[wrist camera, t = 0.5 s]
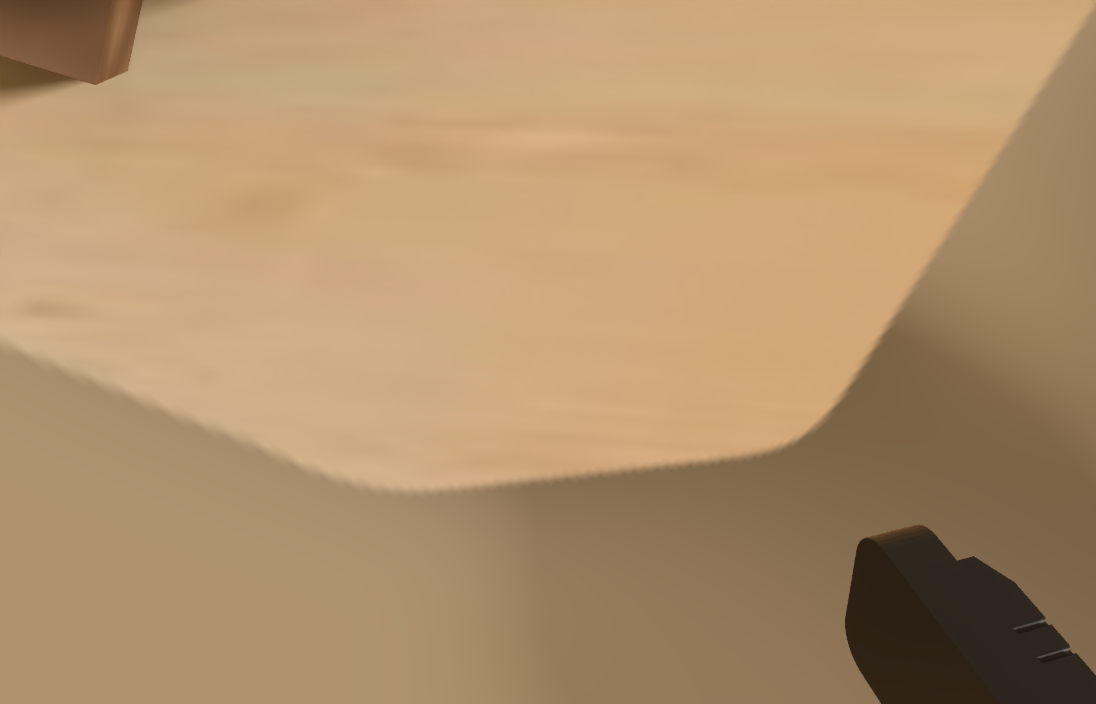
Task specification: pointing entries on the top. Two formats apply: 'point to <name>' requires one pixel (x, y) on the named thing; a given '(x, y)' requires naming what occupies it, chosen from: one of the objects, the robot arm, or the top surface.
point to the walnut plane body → (70, 35)
